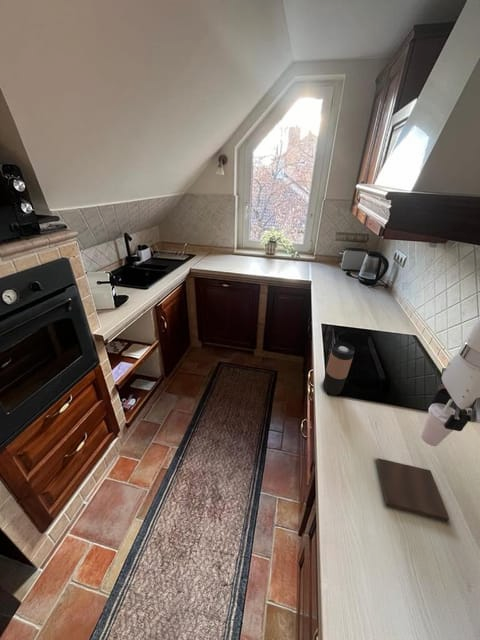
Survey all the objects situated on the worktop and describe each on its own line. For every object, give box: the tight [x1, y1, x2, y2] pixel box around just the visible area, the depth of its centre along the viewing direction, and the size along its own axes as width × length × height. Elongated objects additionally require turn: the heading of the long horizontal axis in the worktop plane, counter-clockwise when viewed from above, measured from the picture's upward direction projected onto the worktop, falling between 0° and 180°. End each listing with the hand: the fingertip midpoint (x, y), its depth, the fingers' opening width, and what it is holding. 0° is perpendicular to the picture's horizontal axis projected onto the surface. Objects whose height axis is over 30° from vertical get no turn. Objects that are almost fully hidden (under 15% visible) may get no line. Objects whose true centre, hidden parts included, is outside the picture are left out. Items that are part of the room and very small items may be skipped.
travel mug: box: [322, 341, 355, 396], centre depth 95 cm, size 8×8×20 cm
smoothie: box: [420, 399, 456, 447], centre depth 60 cm, size 6×6×14 cm
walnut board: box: [375, 457, 450, 522], centre depth 69 cm, size 14×12×2 cm
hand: (445, 415), depth 59 cm, fingers closed on smoothie, 6 cm apart
